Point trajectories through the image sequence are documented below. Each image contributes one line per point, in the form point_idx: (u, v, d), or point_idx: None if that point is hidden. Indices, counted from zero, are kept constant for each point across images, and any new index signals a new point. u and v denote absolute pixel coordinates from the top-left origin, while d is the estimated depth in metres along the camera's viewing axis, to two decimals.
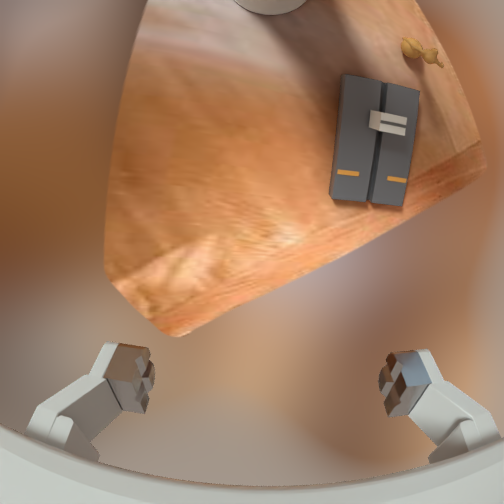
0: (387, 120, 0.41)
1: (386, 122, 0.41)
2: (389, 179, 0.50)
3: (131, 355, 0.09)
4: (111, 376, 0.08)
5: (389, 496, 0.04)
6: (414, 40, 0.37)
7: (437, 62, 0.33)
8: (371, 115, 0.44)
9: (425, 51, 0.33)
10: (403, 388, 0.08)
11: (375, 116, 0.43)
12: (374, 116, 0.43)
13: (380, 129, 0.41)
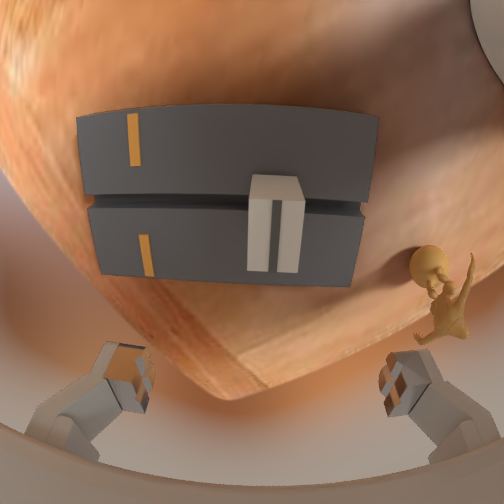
0: (282, 221, 0.17)
1: (276, 217, 0.17)
2: (142, 239, 0.24)
3: (131, 355, 0.09)
4: (111, 376, 0.08)
5: (389, 496, 0.04)
6: (447, 273, 0.24)
7: (436, 336, 0.18)
8: (284, 177, 0.20)
9: (462, 310, 0.17)
10: (403, 388, 0.08)
11: (285, 187, 0.18)
12: (284, 184, 0.19)
13: (253, 201, 0.16)
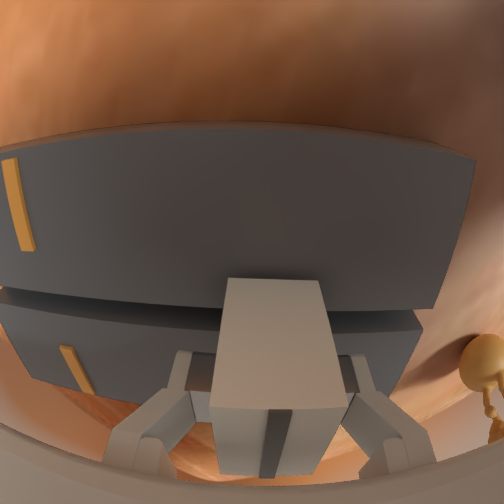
0: (290, 433, 0.06)
1: (276, 432, 0.06)
2: (66, 352, 0.13)
3: (211, 363, 0.09)
4: (194, 388, 0.08)
5: (389, 496, 0.04)
6: None
7: None
8: (294, 287, 0.10)
9: None
10: None
11: (299, 334, 0.08)
12: (296, 323, 0.08)
13: (221, 411, 0.06)
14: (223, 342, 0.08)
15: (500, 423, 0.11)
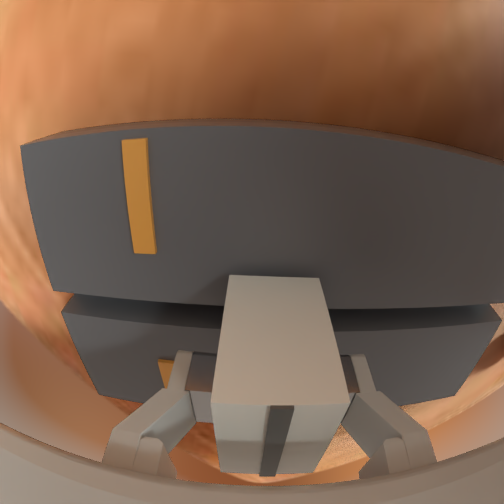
0: (291, 431, 0.06)
1: (278, 429, 0.06)
2: (163, 366, 0.13)
3: (211, 363, 0.09)
4: (194, 388, 0.08)
5: (389, 496, 0.04)
6: None
7: None
8: (296, 284, 0.10)
9: None
10: None
11: (300, 331, 0.08)
12: (297, 319, 0.08)
13: (222, 407, 0.06)
14: (224, 338, 0.08)
15: None
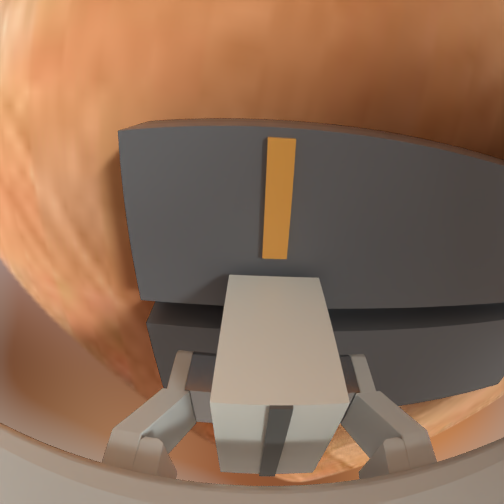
0: (290, 430, 0.06)
1: (277, 429, 0.06)
2: None
3: (211, 363, 0.09)
4: (194, 388, 0.08)
5: (389, 496, 0.04)
6: None
7: None
8: (295, 284, 0.10)
9: None
10: None
11: (300, 330, 0.08)
12: (297, 319, 0.08)
13: (221, 407, 0.06)
14: (224, 338, 0.08)
15: None
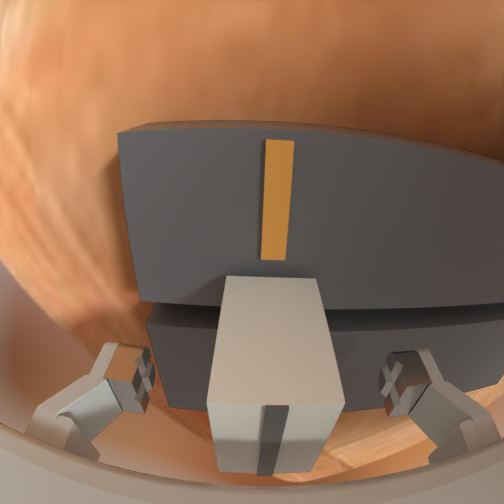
0: (287, 430, 0.07)
1: (273, 428, 0.06)
2: None
3: (131, 355, 0.09)
4: (111, 376, 0.08)
5: (389, 496, 0.04)
6: None
7: None
8: (292, 285, 0.10)
9: None
10: (403, 388, 0.08)
11: (296, 331, 0.08)
12: (293, 320, 0.08)
13: (218, 407, 0.06)
14: (221, 339, 0.08)
15: None
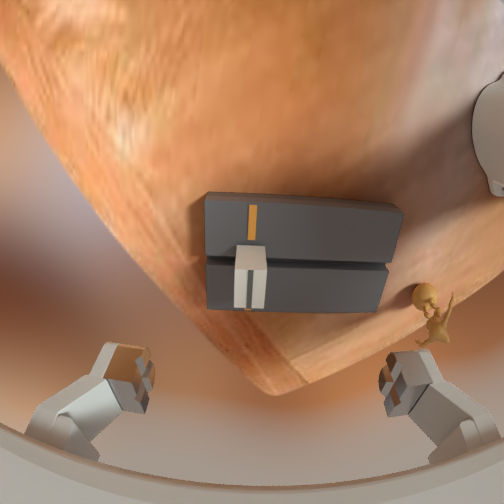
0: (254, 280, 0.29)
1: (250, 279, 0.29)
2: None
3: (131, 355, 0.09)
4: (111, 376, 0.08)
5: (389, 496, 0.04)
6: (436, 301, 0.37)
7: (430, 341, 0.31)
8: (257, 247, 0.33)
9: (445, 326, 0.30)
10: (403, 388, 0.08)
11: (256, 257, 0.31)
12: (256, 255, 0.31)
13: (237, 270, 0.29)
14: (237, 258, 0.31)
15: None
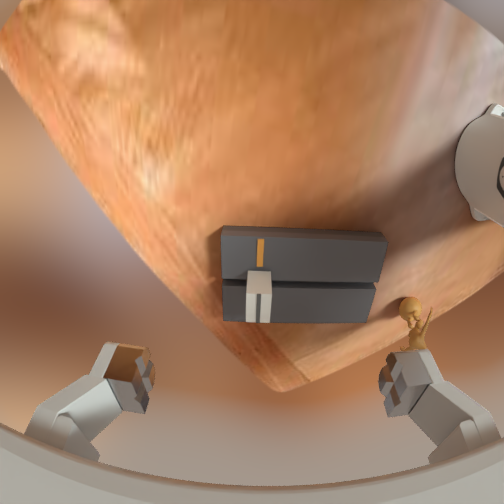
0: (261, 302, 0.37)
1: (258, 300, 0.37)
2: None
3: (131, 355, 0.09)
4: (111, 376, 0.08)
5: (389, 496, 0.04)
6: (420, 313, 0.44)
7: (410, 349, 0.38)
8: (264, 273, 0.40)
9: (423, 337, 0.37)
10: (403, 388, 0.08)
11: (264, 282, 0.38)
12: (263, 280, 0.39)
13: (248, 294, 0.36)
14: (248, 283, 0.38)
15: None
